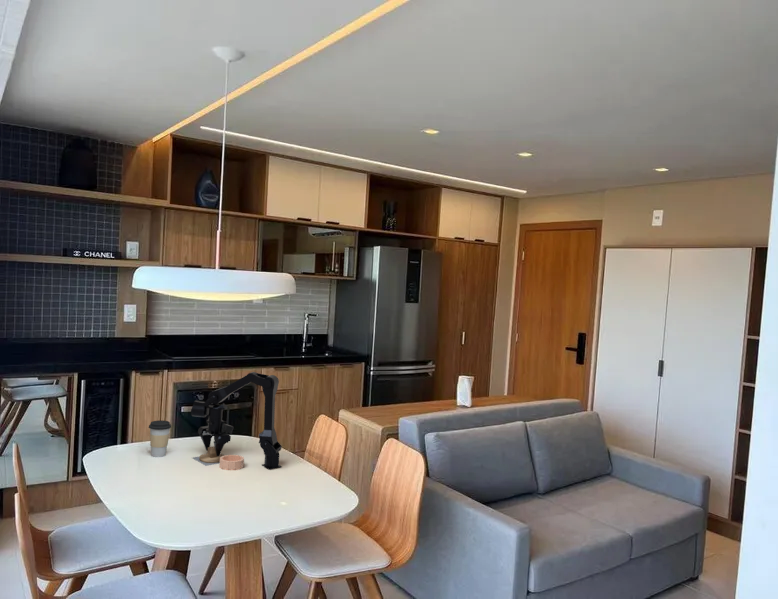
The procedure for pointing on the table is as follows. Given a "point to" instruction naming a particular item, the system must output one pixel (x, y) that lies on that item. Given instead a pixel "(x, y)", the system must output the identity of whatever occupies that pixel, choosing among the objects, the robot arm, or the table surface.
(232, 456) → the bowl
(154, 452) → the coffee cup
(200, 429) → the robot arm
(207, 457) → the lid
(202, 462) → the mat
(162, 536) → the table surface
